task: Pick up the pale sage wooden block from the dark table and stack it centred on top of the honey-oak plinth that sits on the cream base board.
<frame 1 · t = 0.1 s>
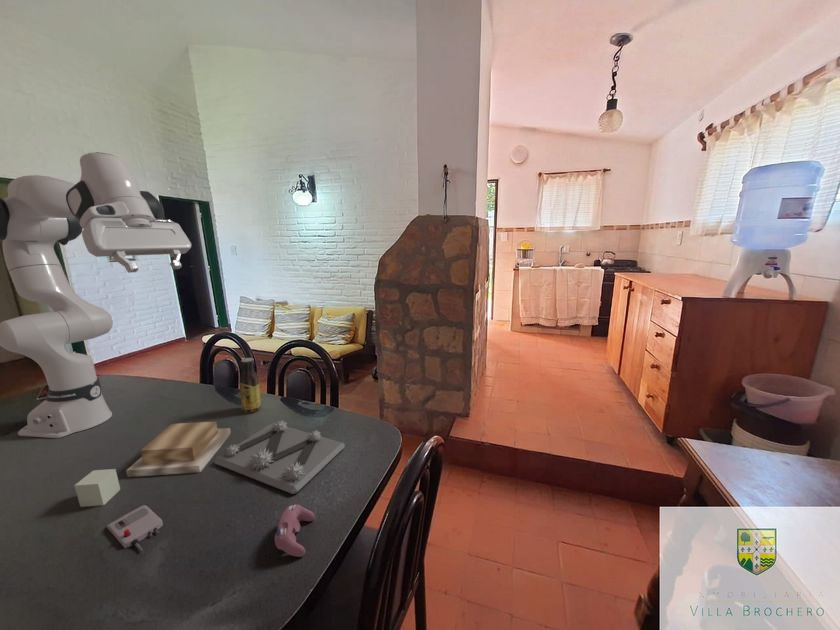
hand: (156, 269, 78), 54 cm above the table, tool tilted 30°, fingers open, 8 cm apart
decorative plate: (282, 457, 94), on the table
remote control: (137, 530, 71), on the table
video game controller: (296, 538, 68), on the table
sage block: (101, 498, 79), on the table
stacking base: (184, 453, 95), on the table
sauce bottle: (252, 410, 119), on the table
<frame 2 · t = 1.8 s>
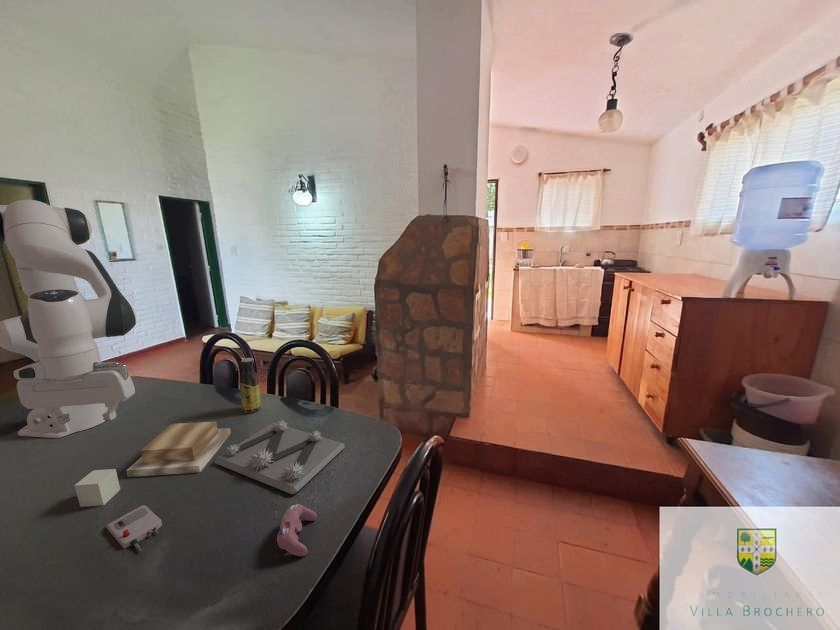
hand: (87, 420, 74), 21 cm above the table, tool pointing down, fingers open, 8 cm apart
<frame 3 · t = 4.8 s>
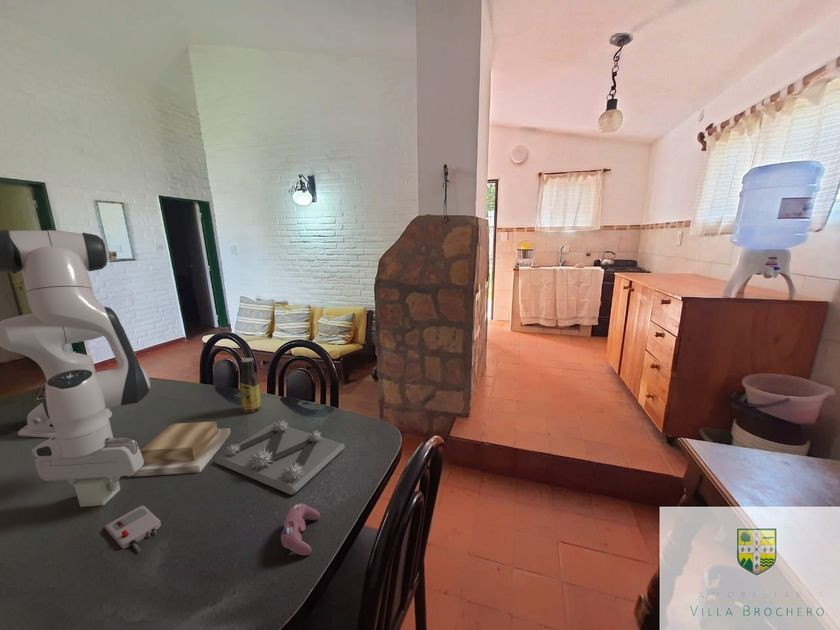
hand: (99, 490, 78), 2 cm above the table, tool pointing down, fingers closed on sage block, 5 cm apart
sage block: (101, 497, 79), on the table, touching gripper
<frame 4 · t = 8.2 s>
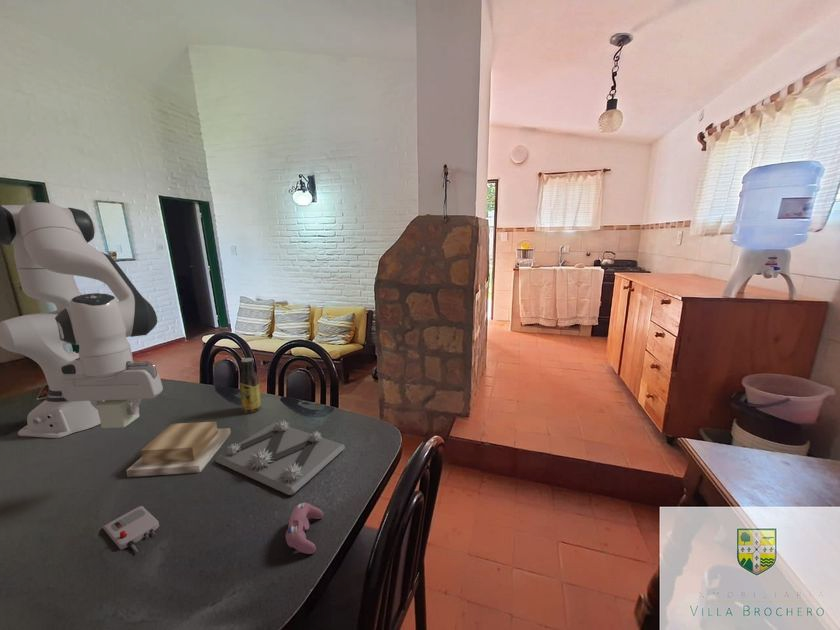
hand: (119, 414, 80), 19 cm above the table, tool pointing down, fingers closed on sage block, 5 cm apart
sage block: (121, 422, 81), point 17 cm above the table, touching gripper
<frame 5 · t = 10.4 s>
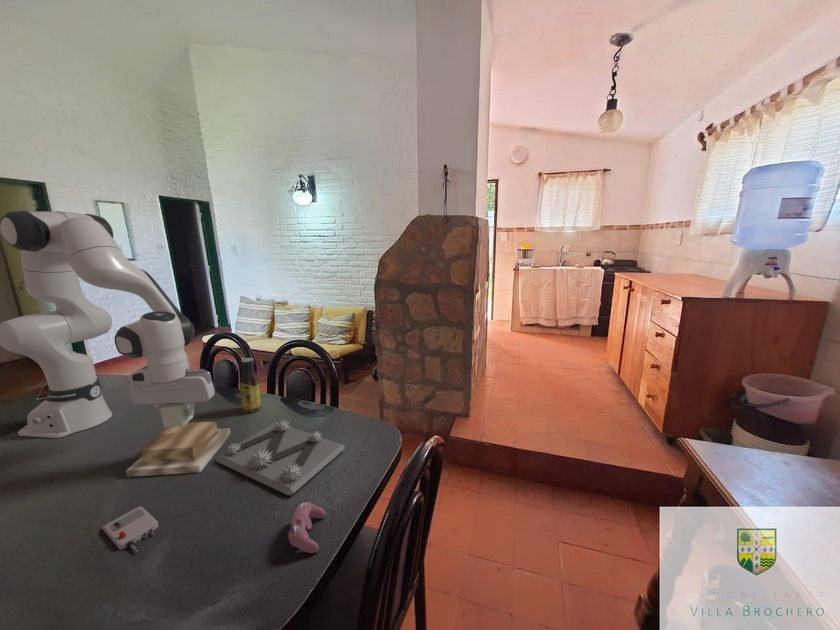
hand: (177, 415, 92), 12 cm above the table, tool pointing down, fingers closed on sage block, 5 cm apart
sage block: (179, 422, 93), point 10 cm above the table, touching gripper
when the fingers open (10 cm above the table, at t = 11.7 s): sage block drops 1 cm, resting on stacking base.
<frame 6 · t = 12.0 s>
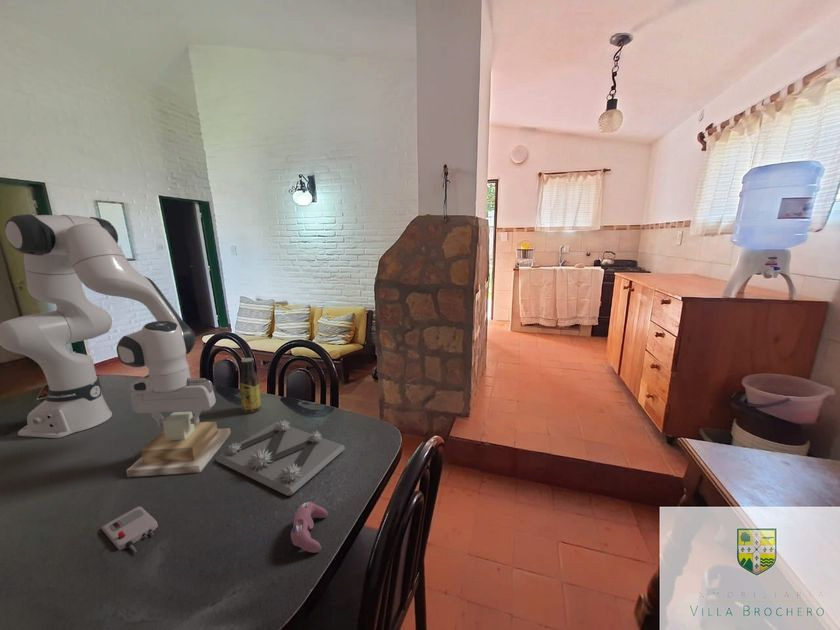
hand: (179, 423, 93), 10 cm above the table, tool pointing down, fingers open, 7 cm apart
sage block: (180, 434, 94), point 6 cm above the table, touching stacking base
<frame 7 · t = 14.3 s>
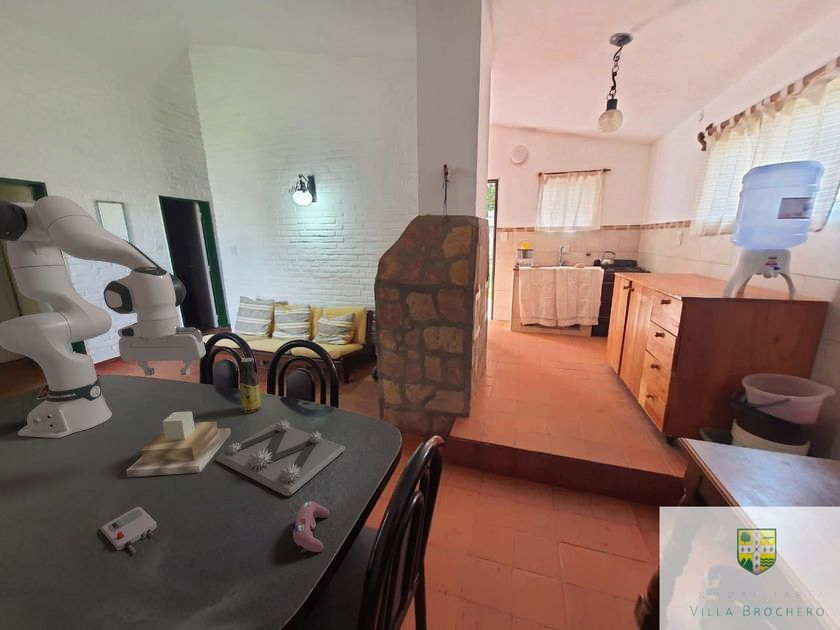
hand: (168, 374, 91), 24 cm above the table, tool pointing down, fingers open, 8 cm apart
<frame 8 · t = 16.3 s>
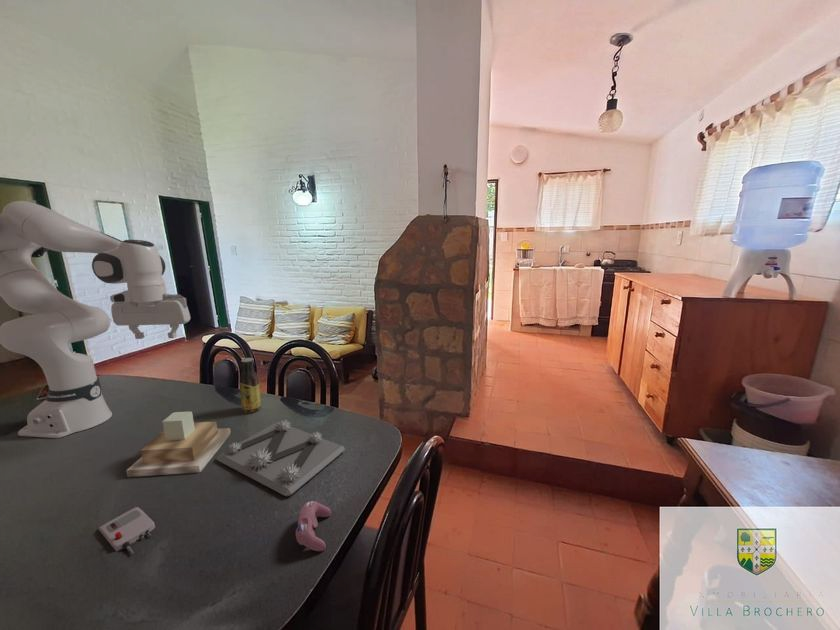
hand: (156, 338, 101), 31 cm above the table, tool pointing down, fingers open, 8 cm apart
at the end: sage block inside the target area on the stacking base (0.1 cm from its centre), point 6.0 cm above the stacking base's base; sage block tilted 0°; the gripper is holding nothing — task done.
